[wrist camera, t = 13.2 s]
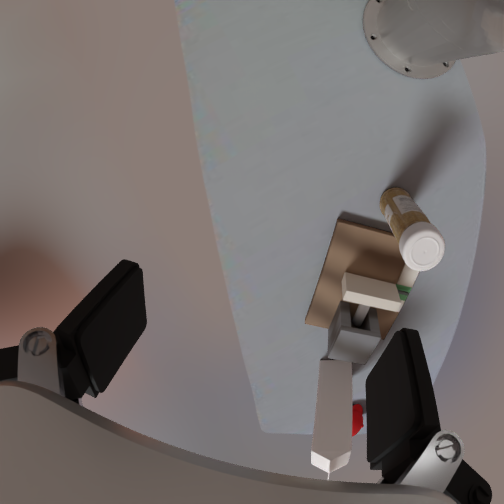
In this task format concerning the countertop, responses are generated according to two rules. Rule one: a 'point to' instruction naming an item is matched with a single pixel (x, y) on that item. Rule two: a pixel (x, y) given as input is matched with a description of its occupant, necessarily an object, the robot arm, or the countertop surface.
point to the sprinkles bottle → (412, 230)
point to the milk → (333, 416)
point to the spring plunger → (369, 295)
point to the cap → (357, 418)
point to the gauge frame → (342, 312)
